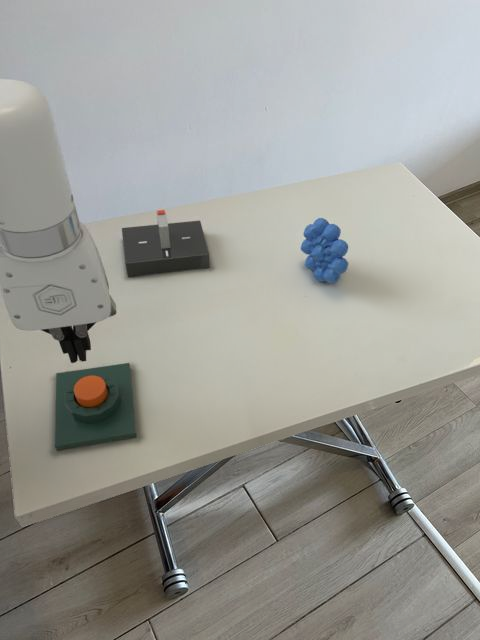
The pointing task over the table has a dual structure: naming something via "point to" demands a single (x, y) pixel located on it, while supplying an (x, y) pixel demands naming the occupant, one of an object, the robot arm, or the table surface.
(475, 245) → the table surface
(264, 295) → the table surface
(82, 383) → the button
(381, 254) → the table surface
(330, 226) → the grapes
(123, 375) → the control block
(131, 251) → the lever switch base
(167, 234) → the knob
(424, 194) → the table surface
